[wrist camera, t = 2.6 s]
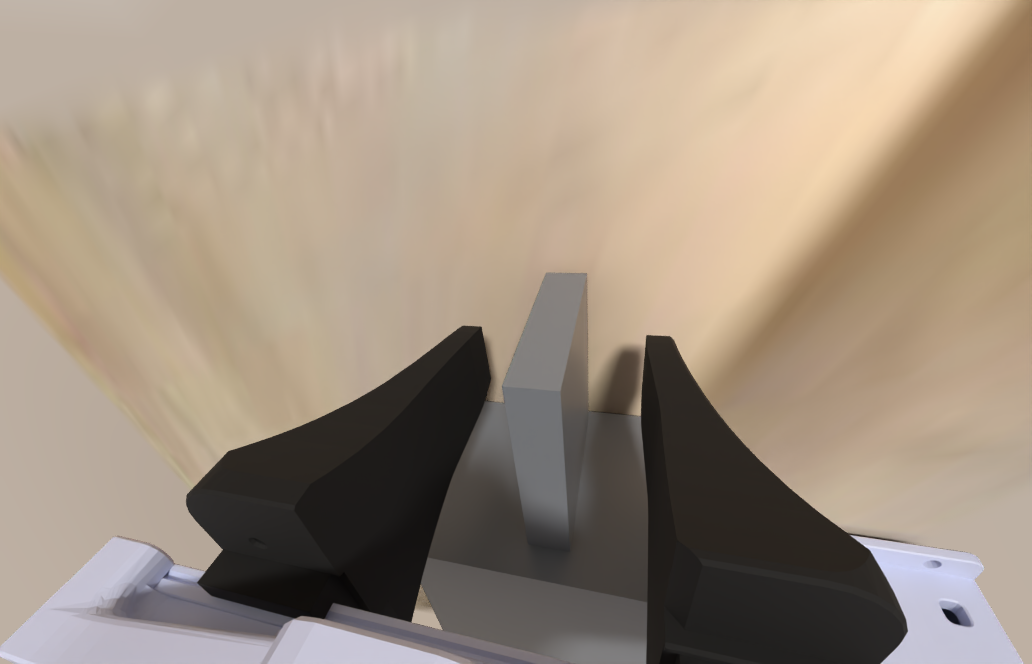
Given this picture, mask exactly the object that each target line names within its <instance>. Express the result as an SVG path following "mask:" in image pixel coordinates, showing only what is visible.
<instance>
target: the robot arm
mask: <svg viewBox="0 0 1032 664" xmlns="http://www.w3.org/2000/svg"><path fill="white" fill-rule="evenodd" d="M490 380H491V376H490V371H489V365H488V360H487V354H486V349H485V343H484V338H483V332H482V327H476V326H462V327H460V328H459V329H457V330H456V331H455V332H453V333H452V334H451V335H449V336H448V337H447V338H445V339H444V340H443V341H442V342H440V343H439V344H438V345H436V346H435V347H434V348H433V349H431V350H430V351H429V352H427V353H426V354H425V355H423V356H422V357H421V358H419V359H418V360H417V361H416V362H414V363H413V364H411V365H410V366H408V367H407V368H406V369H404V370H403V371H401V372H400V373H398V374H397V375H395V376H394V377H393V378H391V379H390V380H388V381H387V382H385V383H384V384H382V385H380V386H379V387H377V388H376V389H374V390H372V391H371V392H369V393H367V394H365V395H364V396H362V397H360V398H358V399H357V400H355V401H353V402H351V403H349V404H347V405H345V406H343V407H341V408H339V409H337V410H335V411H333V412H331V413H329V414H327V415H325V416H322V417H320V418H318V419H316V420H314V421H311V422H309V423H307V424H304V425H302V426H299V427H297V428H294V429H292V430H289V431H287V432H284V433H282V434H279V435H276V436H273V437H271V438H268V439H265V440H262V441H259V442H256V443H253V444H250V445H247V446H244V447H241V448H238V449H234V450H231V451H228V452H227V453H226V454H225V455H224V456H223V458H222V459H221V460H220V461H219V462H218V463H217V464H216V465H215V466H214V467H213V468H212V469H211V470H210V471H209V472H208V473H207V474H206V475H205V476H204V477H203V478H202V479H201V481H200V482H199V483H198V484H197V485H196V486H195V487H194V488H193V489H192V490H191V491H190V492H189V493H188V494H187V498H186V505H187V507H188V510H189V512H190V514H191V515H192V516H193V518H194V519H195V520H196V521H197V522H198V524H199V525H200V526H201V527H202V528H203V529H204V530H205V531H206V532H207V533H208V534H209V535H210V536H211V537H212V538H213V539H214V541H215V542H216V543H217V544H218V545H219V546H220V547H221V548H222V549H223V551H222V552H221V553H220V554H219V556H218V557H217V558H216V559H215V561H214V562H213V563H212V564H211V566H210V567H209V568H208V569H207V571H203V570H199V569H195V568H191V567H187V566H183V565H179V564H175V563H174V562H173V560H172V558H171V557H170V556H169V555H167V553H165V552H164V551H163V550H161V549H160V548H158V547H156V546H155V545H152V544H150V543H147V542H143V541H138V540H134V539H130V538H125V537H122V536H116V537H113V538H112V539H111V540H110V541H109V542H107V544H106V545H104V546H103V547H102V549H100V550H99V551H98V552H97V553H96V554H95V555H94V556H93V557H92V558H91V559H90V560H89V561H88V562H87V563H86V564H85V565H84V566H83V567H82V568H81V569H80V570H79V571H78V572H77V573H76V574H74V576H73V577H72V578H70V579H69V580H68V581H67V582H66V583H65V584H64V585H63V586H62V587H61V588H60V589H59V590H58V591H57V592H56V593H55V594H54V595H53V596H52V597H51V598H50V599H49V600H48V601H47V602H46V603H45V604H44V605H43V606H41V607H40V608H39V609H38V611H36V612H35V613H34V614H33V615H32V616H31V617H30V618H29V619H28V620H27V621H26V622H25V623H24V624H23V625H22V626H21V627H20V628H19V629H18V630H17V631H16V632H15V633H14V634H13V635H11V636H10V638H8V639H7V640H6V641H5V642H4V643H3V644H2V645H1V646H0V657H1V658H3V659H6V660H8V661H10V662H12V663H14V664H576V663H572V662H568V661H564V660H560V659H556V658H552V657H548V656H544V655H540V654H536V653H532V652H528V651H524V650H520V649H516V648H512V647H508V646H504V645H500V644H496V643H492V642H488V641H484V640H480V639H476V638H472V637H468V636H464V635H460V634H456V633H452V632H448V631H444V630H439V629H435V628H432V627H428V626H424V625H420V624H415V623H412V622H411V621H412V617H413V613H414V609H415V605H416V601H417V596H418V592H419V588H420V584H421V580H422V576H423V573H424V569H425V565H426V561H427V558H428V554H429V550H430V547H431V543H432V540H433V536H434V533H435V529H436V526H437V523H438V519H439V516H440V513H441V510H442V506H443V503H444V500H445V497H446V494H447V491H448V488H449V485H450V482H451V479H452V477H453V474H454V472H455V469H456V467H457V464H458V462H459V460H460V458H461V456H462V453H463V451H464V449H465V447H466V444H467V442H468V440H469V438H470V435H471V433H472V431H473V429H474V426H475V424H476V422H477V420H478V417H479V415H480V413H481V410H482V408H483V405H484V402H485V398H486V395H487V391H488V388H489V384H490ZM641 430H642V441H643V452H644V463H645V474H646V485H647V496H648V590H647V648H646V664H1024V663H1023V661H1022V660H1021V658H1020V656H1019V655H1018V653H1017V651H1016V650H1015V648H1014V646H1013V645H1012V643H1011V641H1010V639H1009V638H1008V636H1007V634H1006V633H1005V631H1004V629H1003V628H1002V626H1001V624H1000V623H999V621H998V619H997V618H996V616H995V615H994V612H993V611H992V609H991V607H990V606H989V604H988V603H987V601H986V599H985V597H984V596H983V594H982V592H981V591H980V589H979V587H978V585H977V584H976V582H975V581H974V579H975V578H976V577H977V576H978V575H979V574H981V573H982V571H983V569H984V567H983V565H982V563H981V562H980V560H979V558H978V557H977V556H975V555H973V554H971V553H967V552H961V551H954V550H948V549H941V548H934V547H927V546H921V545H914V544H907V543H900V542H894V541H887V540H880V539H874V538H867V537H860V536H853V535H849V534H847V533H846V532H845V531H843V530H842V529H841V528H839V527H838V526H837V525H835V524H834V523H833V522H831V521H830V520H828V519H827V518H826V517H824V516H823V515H822V514H820V513H819V512H818V511H817V510H815V509H814V508H813V507H812V506H810V505H809V504H808V503H807V502H806V501H804V500H803V499H802V498H801V497H799V496H798V495H797V494H796V493H795V492H793V491H792V490H791V489H790V488H789V487H788V486H787V485H785V484H784V483H783V482H782V481H781V480H780V479H779V478H778V477H777V476H776V475H775V474H774V473H773V472H771V471H770V470H769V469H768V468H767V467H766V466H765V465H764V464H763V463H762V462H761V461H760V460H759V459H758V458H757V457H756V456H755V455H754V454H753V453H752V452H751V451H750V450H749V449H748V448H747V447H746V446H745V445H744V444H743V442H742V441H741V440H740V439H739V438H738V437H737V436H736V435H735V433H734V432H733V431H732V430H731V429H730V428H729V426H728V425H727V424H726V423H725V422H724V420H723V419H722V418H721V417H720V415H719V414H718V413H717V411H716V410H715V409H714V407H713V406H712V405H711V403H710V402H709V400H708V399H707V398H706V396H705V395H704V393H703V392H702V390H701V389H700V387H699V386H698V384H697V383H696V381H695V379H694V378H693V376H692V375H691V373H690V371H689V370H688V368H687V366H686V364H685V362H684V361H683V359H682V357H681V355H680V353H679V351H678V349H677V346H676V344H675V342H674V340H673V339H672V338H671V337H670V336H651V335H646V347H645V358H644V370H643V382H642V399H641Z"/></svg>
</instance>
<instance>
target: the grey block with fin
mask: <svg viewBox="0 0 1032 664" xmlns="http://www.w3.org/2000/svg"><path fill="white" fill-rule="evenodd" d="M502 390H503V396H504V402H505V403H500V402H490V401H485V402H484V405H483V408H482V410H481V413H480V415H479V417H478V420H477V422H476V424H475V426H474V429H473V431H472V433H471V435H470V438H469V440H468V442H467V444H466V447H465V449H464V451H463V453H462V456H461V458H460V460H459V462H458V464H457V467H456V469H455V472H454V474H453V477H452V479H451V482H450V485H449V488H448V491H447V494H446V497H445V500H444V503H443V506H442V510H441V513H440V516H439V519H438V523H437V526H436V529H435V533H434V536H433V540H432V543H431V547H430V550H429V554H428V558H427V561H426V565H425V569H424V573H423V576H422V580H421V585H422V587H423V589H424V591H425V593H426V596H427V598H428V600H429V602H430V604H431V606H432V608H433V610H434V612H435V614H436V616H437V619H438V621H439V622H440V625H441V627H442V629H443V630H444V631H448V632H452V633H456V634H460V635H464V636H468V637H472V638H476V639H480V640H484V641H488V642H492V643H496V644H500V645H504V646H508V647H512V648H516V649H520V650H524V651H528V652H532V653H536V654H540V655H544V656H548V657H552V658H556V659H560V660H564V661H568V662H572V663H576V664H646V648H647V590H648V496H647V485H646V474H645V463H644V452H643V441H642V430H641V416H632V415H622V414H612V413H602V412H591V411H589V406H588V313H587V273H546V275H545V277H544V280H543V282H542V285H541V287H540V290H539V293H538V295H537V298H536V300H535V303H534V305H533V308H532V311H531V313H530V316H529V318H528V321H527V323H526V326H525V328H524V331H523V334H522V336H521V339H520V341H519V344H518V346H517V349H516V351H515V354H514V357H513V359H512V362H511V364H510V367H509V369H508V372H507V375H506V377H505V380H504V382H503V385H502Z"/></svg>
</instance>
